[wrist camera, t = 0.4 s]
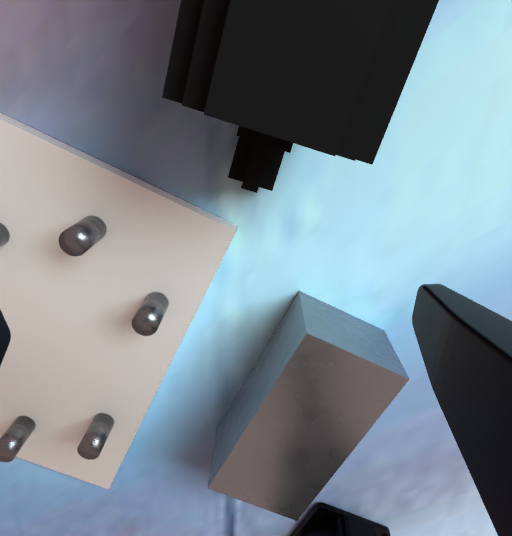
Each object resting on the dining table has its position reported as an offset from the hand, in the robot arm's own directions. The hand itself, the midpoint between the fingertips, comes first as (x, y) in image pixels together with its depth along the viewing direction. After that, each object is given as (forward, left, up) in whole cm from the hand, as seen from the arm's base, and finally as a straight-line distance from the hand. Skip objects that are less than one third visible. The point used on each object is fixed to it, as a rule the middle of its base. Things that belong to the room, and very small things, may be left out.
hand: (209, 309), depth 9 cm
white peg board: (-13, +6, -14) cm, 20 cm away
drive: (-10, -9, -14) cm, 20 cm away
